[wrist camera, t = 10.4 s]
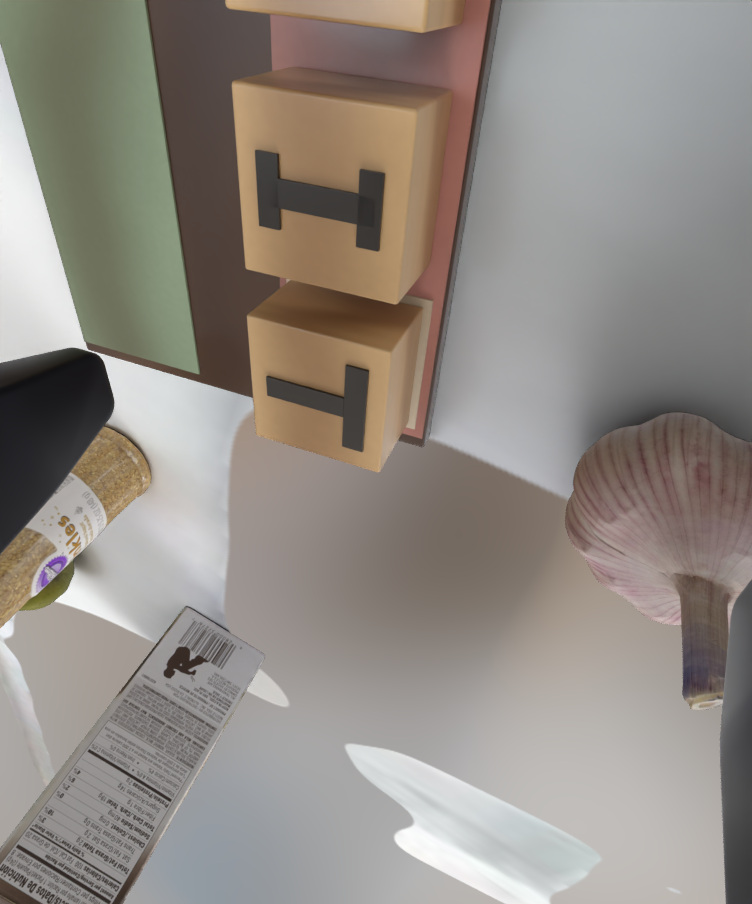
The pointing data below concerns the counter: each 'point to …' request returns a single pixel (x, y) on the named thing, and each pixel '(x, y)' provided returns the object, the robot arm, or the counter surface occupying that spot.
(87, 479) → the sprinkles bottle
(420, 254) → the tile
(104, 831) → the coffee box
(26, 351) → the counter surface
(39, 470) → the robot arm
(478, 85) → the letter board
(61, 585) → the lime
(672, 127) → the counter surface
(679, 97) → the counter surface
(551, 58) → the counter surface
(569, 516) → the garlic bulb
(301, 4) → the tile
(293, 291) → the tile
